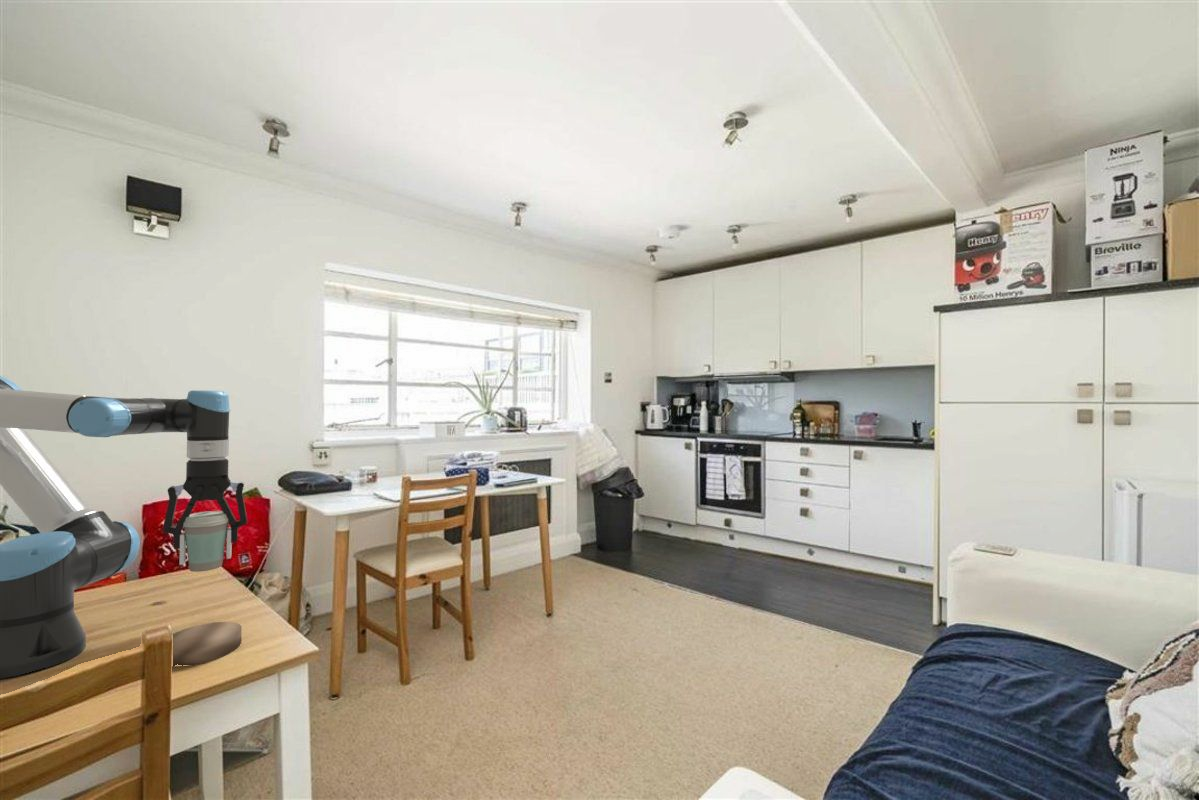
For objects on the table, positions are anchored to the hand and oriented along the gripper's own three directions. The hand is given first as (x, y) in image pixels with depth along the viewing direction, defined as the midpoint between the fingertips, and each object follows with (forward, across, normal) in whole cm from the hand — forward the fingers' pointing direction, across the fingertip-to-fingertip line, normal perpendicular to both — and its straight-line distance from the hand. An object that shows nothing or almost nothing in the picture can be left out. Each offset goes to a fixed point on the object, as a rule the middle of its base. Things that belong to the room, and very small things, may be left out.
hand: (206, 559), depth 115 cm
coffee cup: (+2, 0, 0) cm, 2 cm away
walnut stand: (+14, +1, -15) cm, 21 cm away
